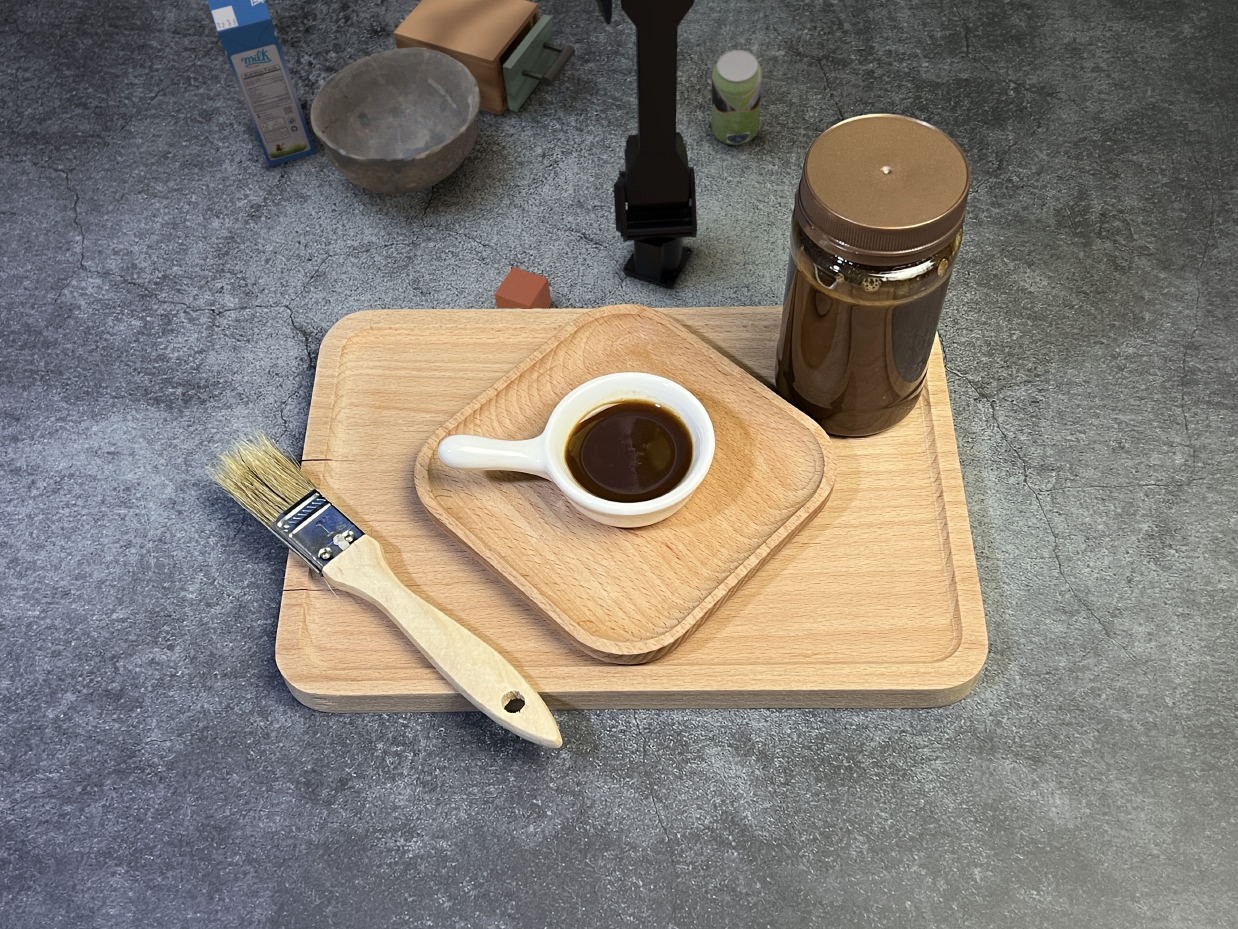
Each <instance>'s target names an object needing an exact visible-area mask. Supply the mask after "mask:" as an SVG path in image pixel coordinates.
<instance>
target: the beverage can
mask: <svg viewBox="0 0 1238 929" xmlns="http://www.w3.org/2000/svg"><path fill="white" fill-rule="evenodd" d="M762 82H763V70H762V67H761V65H760V62H758V59H757V58H756V56H755V55H754V54H753V53H752V52H750V51H747V50H744V49H733V50H728V51H726V52H725V53H723V54H721V56H719V58H718V59H717V61H716V63H715V65H714V66H713V69H712V72H711V131H712V133H713V135H714V137H715V138H716V139H717V140H718V141H720V142H721V143H724V144H727V145H732V146H733V145H734V146H736V145H738V146H739V145H742V144H746V143H748V142H750V141H751V140H753V139H754V137H755V136H757V133H758V131H759V129H760V128H759V127H760V113H761V98H762V86H763V84H762Z"/></svg>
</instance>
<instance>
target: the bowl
mask: <svg viewBox="0 0 1238 929" xmlns="http://www.w3.org/2000/svg"><path fill="white" fill-rule="evenodd" d="M480 103H481V96H480V90H479V88H478V83H477V81H476V79H475V78H474V76H473V75H472V74H471V73H470V71H469V70H468V68H467V67H466V66H464V65H463V64H462V63H460V62H459V61H457V60H455V59H453V58H452V57H450V56H449V55H446V54H444V53H441V52H438V51H434V50H430V49H427V48H417V47H415V48H400V49H397V48H393V49H388V50H382V51H381V52H375V53H371V54H370V55H369V56H368V55H366V56H363V57H361V58H359V59H357V60H355V61H353V62H351V63H349V64H348V65H346V66H343V68H341V69H339V70H338V71H336V72H334V73H333V74H331V75H330V76H329V77H328V78H327V79H326V80H324V82H323V83H322V85H321V86H320V87H319V90H318V91H317V93H316V95H315V96H314V98H313V102H312V104H311V107H310V122H311V129H312V130H313V132H314V134H315V135H316V137H317V138H318V140H319V141H320V142H321V144H322V145H323V147H324V150H325V152H326V155H327V157H328V160H329V162H330V164H331V165H332V166H333V167H334V168H335V169H336V171H338V172H339V173H340V174H341V175H342V176H343V177H344V178H346V179H347V180H348V181H350V183H351V184H353V185H354V186H355V187H359V188H362V189H365V190H368V191H372V192H376V193H379V194H385V195H393V196H395V195H397V196H402V195H404V196H405V195H408V194H414V193H417V192H421V191H424V190H426V189H429V188H431V187H433V186H435V185H436V184H438V183H440V182H442V181H443V180H444V179H446V178H447V177H449V176H450V175H451V174H452V173H454V171H456V170H457V169H458V168H459V166H461V164H462V163H463V162H464V160H465V159H466V158H467V157H468V156H469V154H470V153H471V151H472V150H473V147H474V145H475V142H476V140H477V136H478V129H479V123H478V121H477V118H478V115H479V112H480Z"/></svg>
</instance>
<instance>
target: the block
mask: <svg viewBox="0 0 1238 929" xmlns="http://www.w3.org/2000/svg"><path fill="white" fill-rule="evenodd" d="M494 299H495V304H496V309H497V308H522V309H532V308H549V309H550V307H551V305H552V300H551V299H552V298H551V291H550V282H549V278H548V277H545V276H543V275H539V274H536V273H533V272H530V271H528V270H524V269H521V268H518V267H515V266H512V267H511V269H510V270H509V272H508V273H507V275H506V276H505V277H504V279H503V281H502V282H501V284H500V285H499V287H498V288H497V289H496V291H495V293H494Z"/></svg>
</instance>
